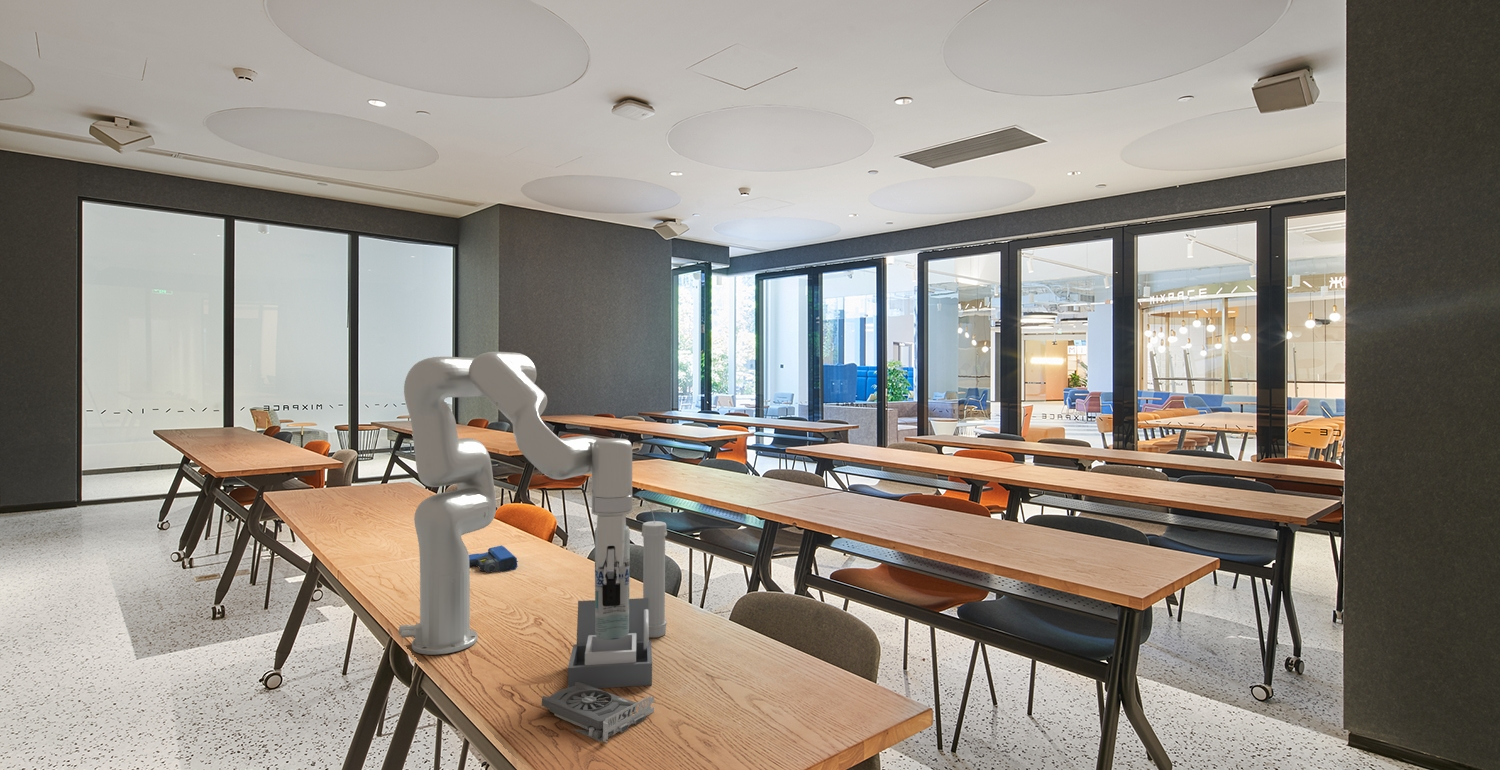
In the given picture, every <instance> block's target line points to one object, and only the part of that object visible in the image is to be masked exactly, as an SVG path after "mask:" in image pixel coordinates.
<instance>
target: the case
mask: <svg viewBox="0 0 1500 770" xmlns="http://www.w3.org/2000/svg"><path fill="white" fill-rule="evenodd" d="M576 623H577V624H576V625H577V627H576V643H575V644H573V645H572V648H571V649H572V650H571V654H570V658H569V661H568V665H567V688H569V687H572V686H575V682H580V683H583V684H586V685H589V686H591V687H594V688H597V689H604V688H605V689H607V688H608V689H609V688H621V687H622V688H624V687H625V688H626V687H638V686H639V687H640V686H641V687H642V686H652V685H653V656H652V655H653V654H652V653H653V652H652V651H653V650H652V641H651V640H649V638H650V637H649V598H643V597H642V598H641V597H640V598H639V597H638V598H629V633H628V635H626V636H625V637H622V638H619V639H601V638H598V637H597V636H596V633H595V599H594V600H593V599H592V600H578V601H577V622H576Z"/></svg>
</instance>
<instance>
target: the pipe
mask: <svg viewBox="0 0 1500 770" xmlns="http://www.w3.org/2000/svg"><path fill="white" fill-rule="evenodd" d="M639 498H640V499H641V500H642V501H644V502H645V504H647V506H648V507H649V509H650V511H651V513H652V514H651V515H652V518H653V520H652V521H646V522H644V523H642V525H641V527H642V528H641V536H642V537H643V538H642V539H643V540H642V541H643V548H642V549H643V551H642V554H643V555H642V556H643V563H642V566H643V567H642V568H643V572H642V573H643V577H642V578H643V579H642V582H643V583H642V591H643V592H642V598H649V638H650V639H651V638H652V639H653V638H660V637H663V636H664V635H665V634H666V633H667V624H668V621H667V620H666V615H665V614H666V613H665V612H666V601H665V600H666V537H667V535H668V531H667V523H666V522H664V521H658V520H655V515H654V511H653V510H652V507H651V506H650V504H649V503H648V501H646V500H645V499H644V498H643V497H641V496H639Z"/></svg>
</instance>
